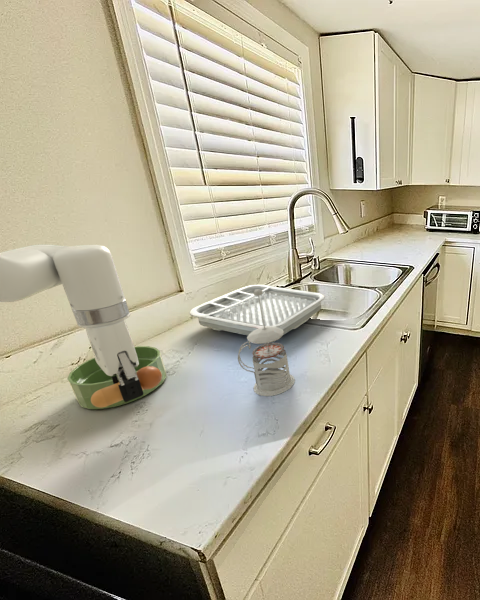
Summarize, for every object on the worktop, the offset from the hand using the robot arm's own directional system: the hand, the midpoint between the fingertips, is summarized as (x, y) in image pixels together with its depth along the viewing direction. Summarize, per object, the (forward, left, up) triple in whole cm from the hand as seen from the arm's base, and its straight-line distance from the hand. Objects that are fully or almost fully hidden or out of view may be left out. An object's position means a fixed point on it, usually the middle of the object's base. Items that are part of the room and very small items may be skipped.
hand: (130, 393), depth 67 cm
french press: (+24, -11, -7) cm, 27 cm away
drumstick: (0, 0, -1) cm, 0 cm away
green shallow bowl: (+2, +17, -7) cm, 18 cm away
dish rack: (+44, +24, -7) cm, 50 cm away
